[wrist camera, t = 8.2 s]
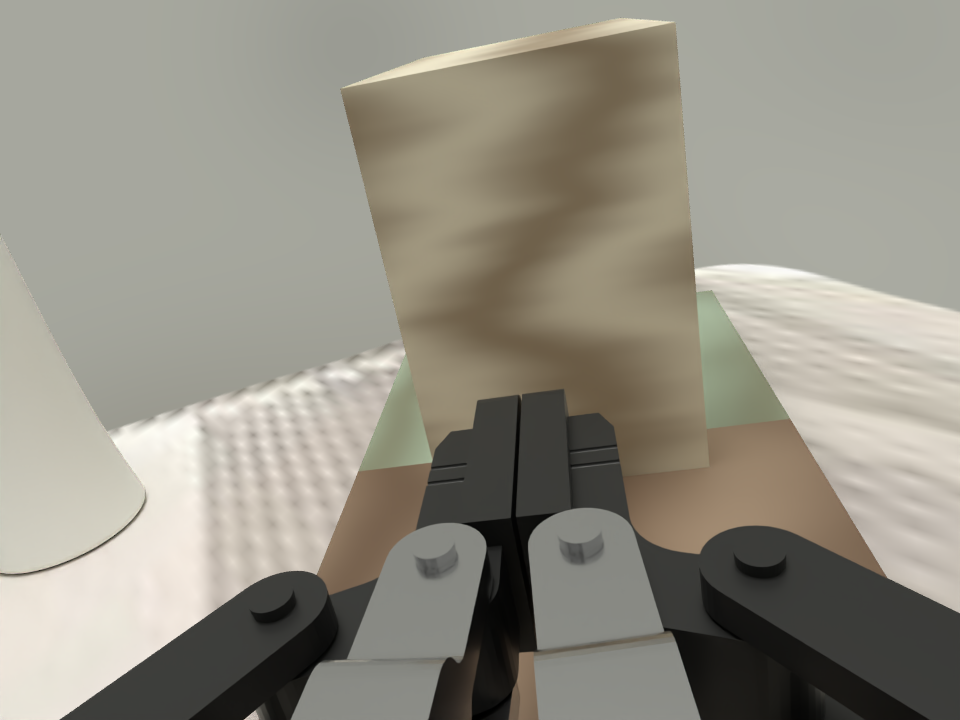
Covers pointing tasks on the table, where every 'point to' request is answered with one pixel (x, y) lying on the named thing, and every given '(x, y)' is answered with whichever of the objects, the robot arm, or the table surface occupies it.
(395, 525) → the trap box
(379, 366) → the table surface
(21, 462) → the cosmetic bottle
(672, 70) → the maple block
